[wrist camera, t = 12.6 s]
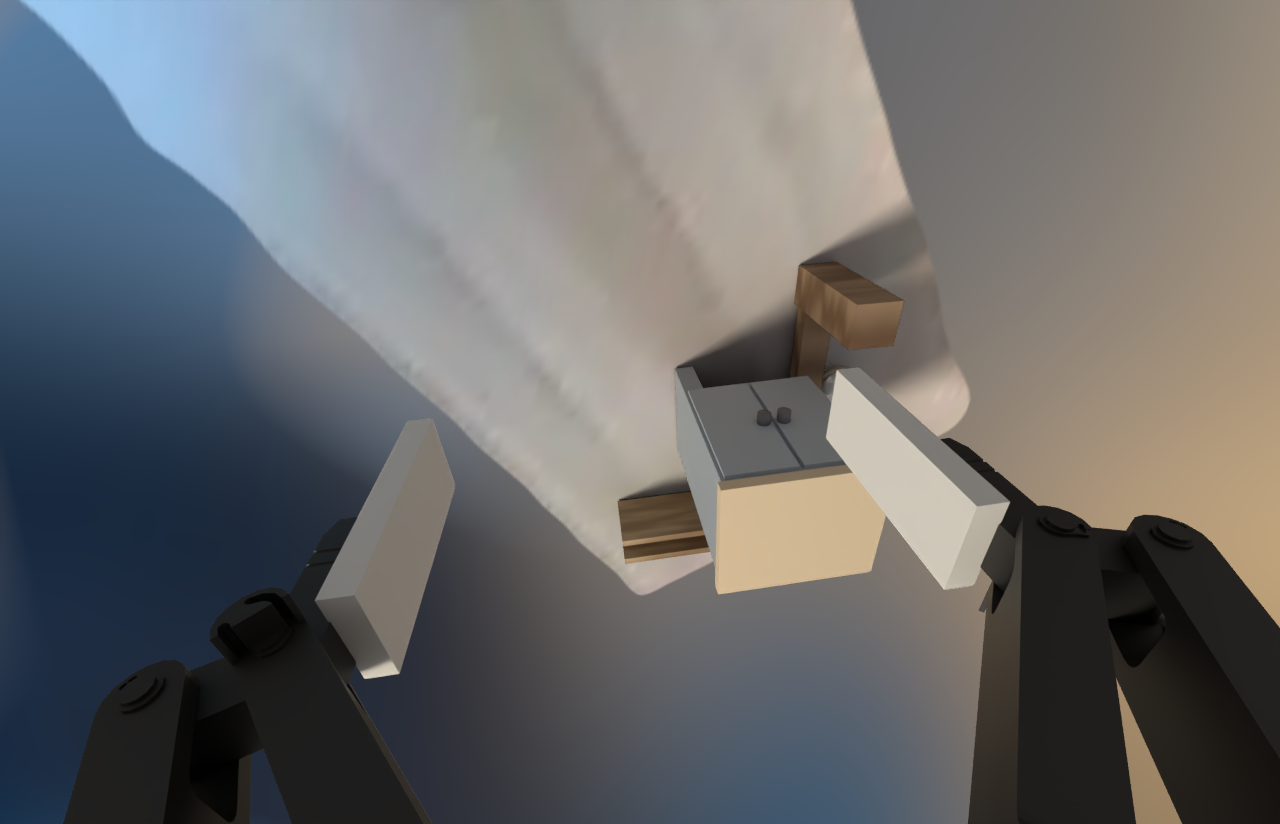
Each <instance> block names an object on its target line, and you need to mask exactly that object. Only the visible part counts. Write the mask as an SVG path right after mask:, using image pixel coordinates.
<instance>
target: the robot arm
mask: <svg viewBox="0 0 1280 824" xmlns="http://www.w3.org/2000/svg"><path fill="white" fill-rule="evenodd" d="M826 439H827V440H828V441H829V443H830V444H831V445H832V447H833V448H834V449H835V450H836V452H837V453H838V454H839V456H840V457H841V458H842V459H843V461H844V462H845V463H846V465H847V466H848V467H849V468H850V470H851V471H852V472H853V473H854V475H855V476H856V477H857V479H858V480H859V481H860V482H861V484H862V485H863V486H864V488H865V489H866V490H867V491H868V493H869V494H870V495H871V497H872V498H873V499H874V500H875V502H876V503H877V504H878V506H879V507H880V508H881V509H882V511H883V512H884V513H885V514H886V516H887V517H888V518H889V520H890V521H891V522H892V523H893V525H894V526H895V527H896V529H897V530H898V531H899V532H900V534H901V535H902V536H903V538H904V539H905V540H906V541H907V543H908V544H909V545H910V546H911V548H912V549H913V550H914V552H915V553H916V554H917V555H918V557H919V558H920V559H921V561H922V562H923V563H924V564H925V566H926V567H927V568H928V570H929V571H930V572H931V573H932V575H933V576H934V577H935V579H936V580H937V581H938V582H939V584H940V585H941V586H942V587H943V589H944V590H946V589H953V588H960V587H966V586H972V585H974V583H975V581H976V579H977V577H978V574H979V572H980V570H981V568H982V569H983V570H984V572H985V573H986V574H987V575H988V576H989V577H990V578H991V579H992V583H991V585H990V587H989V589H988V591H987V593H986V596H985V598H984V600H983V602H982V604H981V606H980V608H979V611H981V612H984V611H985V609H986V619H985V630H984V642H983V654H982V666H981V677H980V689H979V701H978V713H977V725H976V736H975V748H974V760H973V772H972V783H971V795H970V806H969V819H968V824H1136V820H1135V813H1134V806H1133V798H1132V791H1131V784H1130V777H1129V769H1128V762H1127V755H1126V748H1125V740H1124V733H1123V727H1122V719H1121V712H1120V704H1119V697H1118V690H1117V683H1116V678H1117V680H1118V683H1119V685H1120V687H1121V689H1122V692H1123V694H1124V696H1125V698H1126V700H1127V703H1128V705H1129V707H1130V709H1131V711H1132V713H1133V716H1134V718H1135V720H1136V723H1137V724H1138V727H1139V729H1140V731H1141V733H1142V736H1143V738H1144V740H1145V742H1146V745H1147V747H1148V749H1149V751H1150V754H1151V756H1152V758H1153V760H1154V762H1155V765H1156V767H1157V769H1158V771H1159V773H1160V776H1161V778H1162V780H1163V782H1164V785H1165V787H1166V789H1167V791H1168V793H1169V795H1170V798H1171V800H1172V802H1173V804H1174V807H1175V809H1176V811H1177V813H1178V815H1179V818H1180V820H1181V822H1182V824H1280V628H1279V626H1278V625H1277V624H1276V623H1275V621H1274V620H1273V619H1272V618H1271V616H1270V615H1269V614H1268V613H1267V611H1266V610H1265V609H1264V607H1263V606H1262V605H1261V604H1260V602H1258V600H1257V599H1256V597H1255V596H1254V595H1253V594H1252V592H1251V591H1250V590H1249V589H1248V587H1247V586H1246V585H1245V584H1244V582H1243V581H1242V580H1241V579H1240V577H1239V576H1238V575H1237V574H1236V572H1235V571H1234V570H1233V568H1232V567H1231V566H1230V565H1229V564H1228V562H1227V561H1226V560H1225V558H1224V557H1223V556H1222V555H1221V554H1220V552H1219V551H1218V550H1217V548H1216V547H1215V546H1214V545H1213V543H1212V542H1211V541H1209V540H1208V539H1207V538H1206V537H1205V536H1204V535H1203V534H1202V533H1200V532H1198V531H1197V530H1195V529H1193V528H1192V527H1190V526H1188V525H1186V524H1184V523H1182V522H1178V521H1176V520H1173V519H1170V518H1166V517H1161V516H1157V515H1142V516H1138V517H1135V518H1134V519H1133V521H1132V522H1131V524H1130V526H1129V527H1128V529H1127V530H1126V531H1122V530H1112V529H1102V528H1091V527H1090V526H1089V525H1088V524H1087V523H1086V522H1085V521H1084V520H1082V519H1081V518H1079V517H1077V516H1076V515H1074V514H1072V513H1070V512H1067V511H1065V510H1062V509H1059V508H1055V507H1050V506H1037V505H1036V504H1035V503H1033V501H1031V500H1030V499H1029V498H1028V497H1027V496H1025V495H1024V494H1023V493H1022V492H1021V491H1020V490H1018V489H1017V488H1016V487H1015V486H1014V485H1013V484H1011V483H1010V482H1009V481H1008V480H1007V479H1005V478H1004V477H1003V476H1002V475H1001V474H999V473H998V472H995V471H994V468H992V467H991V466H990V465H989V464H988V463H986V462H983V459H982V458H981V457H979V456H978V455H977V454H976V453H975V452H974V451H972V450H971V449H970V448H969V447H967V446H965V445H962V444H961V443H959V442H957V441H955V440H953V439H951V438H945V439H939V438H938V437H937V436H936V435H935V434H934V433H932V432H931V431H930V430H929V429H928V428H927V427H926V426H925V425H923V424H922V423H921V422H920V421H919V420H918V419H917V418H916V417H914V416H913V415H912V414H911V413H910V412H909V411H908V410H907V409H906V408H904V407H903V406H902V405H901V404H900V403H899V402H898V401H897V400H895V399H894V398H893V397H892V396H891V395H890V394H889V393H888V392H886V391H885V390H884V389H883V388H882V387H881V386H880V385H879V384H877V383H876V382H875V381H874V380H873V379H872V378H871V377H870V376H868V375H867V374H866V373H865V372H864V371H863V370H862V369H861V368H859V367H857V368H848V369H840V370H837V372H836V379H835V385H834V391H833V397H832V403H831V410H830V416H829V422H828V428H827V434H826ZM454 489H455V483H454V480H453V477H452V474H451V471H450V468H449V466H448V463H447V460H446V457H445V454H444V451H443V448H442V445H441V442H440V439H439V436H438V434H437V431H436V428H435V425H434V422H433V419H432V418H430V419H423V420H414V421H407V423H406V425H405V426H404V428H403V430H402V432H401V434H400V436H399V438H398V440H397V442H396V444H395V446H394V448H393V450H392V452H391V454H390V456H389V458H388V459H387V461H386V463H385V465H384V467H383V469H382V471H381V473H380V475H379V477H378V479H377V481H376V483H375V485H374V487H373V489H372V490H371V493H370V494H369V496H368V498H367V500H366V502H365V504H364V506H363V508H362V510H361V512H360V514H359V516H358V517H355V518H347V519H340V520H339V521H338V522H337V523H336V524H335V525H334V526H333V527H331V528H330V529H329V530H328V531H327V532H326V533H325V534H324V535H323V537H322V539H321V540H320V542H319V544H318V546H317V547H316V549H315V551H314V554H313V555H312V556H311V558H310V560H309V561H308V563H307V568H304V570H303V572H302V573H301V575H300V577H299V579H298V580H297V582H296V584H295V586H294V587H293V589H292V591H291V593H290V594H288V593H287V592H286V591H284V590H283V589H280V588H267V589H263V590H258V591H255V592H253V593H251V594H249V595H246V596H245V597H242V598H241V599H239V600H238V601H236V602H235V603H233V604H232V605H230V606H229V607H228V608H227V609H226V610H225V611H224V612H223V613H222V614H221V615H220V616H219V617H218V618H217V619H216V621H215V623H214V624H213V626H212V628H211V630H210V641H211V642H212V643H213V644H214V646H215V647H216V648H217V649H218V650H219V651H220V652H221V654H222V655H223V656H224V658H221V659H219V660H216V661H214V662H211V663H209V664H206V665H204V666H201V667H199V668H196V669H194V670H191V671H189V670H188V669H187V668H186V666H185V665H183V664H182V663H180V662H178V661H177V660H164V661H160V662H157V663H154V664H151V665H148V666H146V667H144V668H143V669H141V670H139V671H137V672H135V673H133V674H132V675H130V676H129V677H128V678H126V679H125V680H124V681H122V682H121V683H120V684H119V685H117V686H116V687H115V688H114V689H113V690H112V691H111V692H110V693H109V694H108V695H107V697H106V698H105V699H104V700H103V701H102V703H101V704H100V706H99V708H98V710H97V712H96V714H95V716H94V720H93V723H92V727H91V730H90V734H89V737H88V741H87V744H86V747H85V751H84V754H83V758H82V761H81V765H80V768H79V771H78V775H77V779H76V782H75V785H74V789H73V792H72V795H71V799H70V802H69V806H68V810H67V813H66V816H65V820H64V823H63V824H249V823H250V822H249V821H250V781H251V778H250V777H251V754H252V753H254V752H256V751H258V750H261V749H263V748H264V751H265V754H266V756H267V759H268V761H269V764H270V767H271V769H272V772H273V774H274V777H275V780H276V783H277V785H278V788H279V790H280V793H281V795H282V798H283V801H284V804H285V806H286V809H287V811H288V814H289V817H290V819H291V822H292V824H432V822H431V820H430V819H429V817H428V815H427V814H426V812H425V810H424V809H423V807H422V805H421V803H420V802H419V800H418V798H417V797H416V795H415V794H414V792H413V790H412V788H411V786H410V785H409V783H408V781H407V780H406V778H405V776H404V775H403V773H402V771H401V769H400V768H399V766H398V764H397V763H396V761H395V759H394V758H393V756H392V754H391V752H390V751H389V749H388V747H387V746H386V744H385V742H384V741H383V739H382V737H381V735H380V734H379V732H378V730H377V729H376V727H375V725H374V724H373V722H372V720H371V718H370V717H369V715H368V713H367V712H366V710H365V708H364V706H363V705H362V703H361V701H360V700H359V698H358V697H357V695H356V693H355V691H354V689H353V688H352V686H351V685H350V683H349V680H350V678H351V675H352V672H353V670H354V667H355V665H356V666H357V667H358V669H359V671H360V672H361V674H362V675H363V677H364V678H365V679H367V678H374V677H381V676H387V675H394V674H399V673H400V669H401V667H402V663H403V660H404V656H405V653H406V650H407V647H408V643H409V640H410V636H411V633H412V630H413V626H414V623H415V620H416V616H417V613H418V610H419V606H420V603H421V600H422V596H423V593H424V590H425V586H426V583H427V579H428V576H429V573H430V569H431V566H432V563H433V560H434V556H435V553H436V549H437V546H438V543H439V539H440V536H441V533H442V529H443V526H444V523H445V520H446V516H447V513H448V509H449V506H450V503H451V499H452V496H453V493H454Z"/></svg>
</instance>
